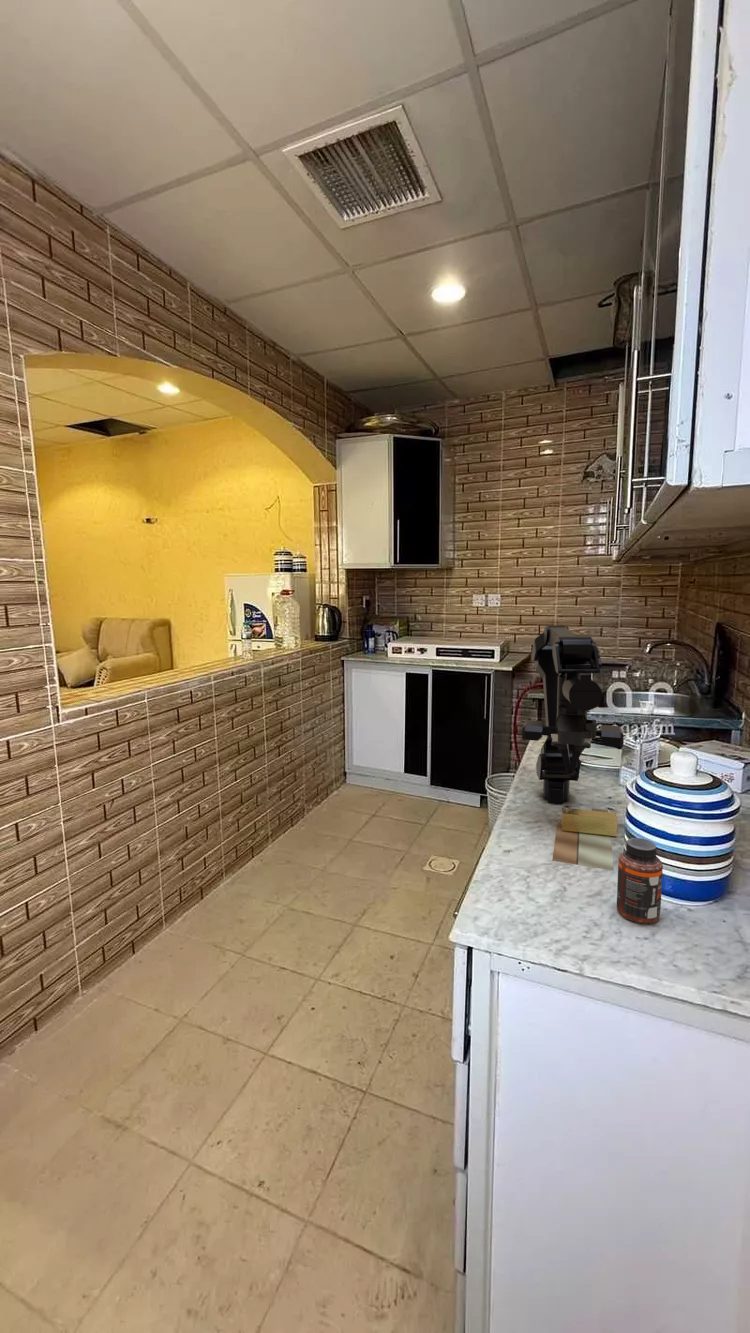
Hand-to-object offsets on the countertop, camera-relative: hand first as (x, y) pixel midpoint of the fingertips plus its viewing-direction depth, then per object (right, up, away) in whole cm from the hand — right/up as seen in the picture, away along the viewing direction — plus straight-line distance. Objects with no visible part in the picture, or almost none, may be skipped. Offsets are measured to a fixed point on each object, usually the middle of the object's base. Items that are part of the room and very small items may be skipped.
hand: (569, 773), depth 107 cm
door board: (0, -13, -7) cm, 14 cm away
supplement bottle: (0, -16, -27) cm, 31 cm away
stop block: (+6, -11, -1) cm, 12 cm away
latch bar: (+3, -11, -2) cm, 11 cm away
